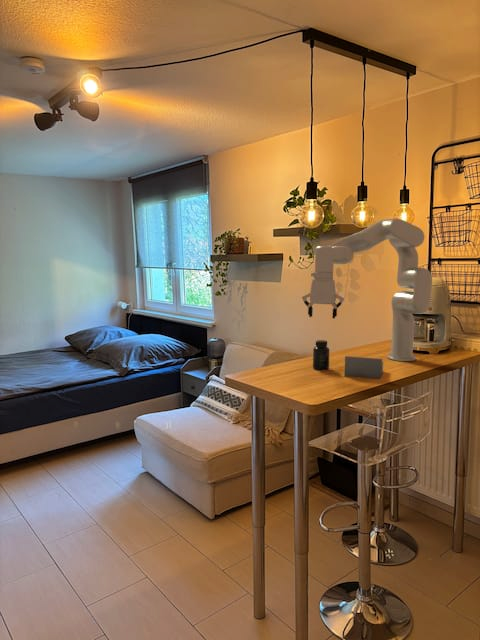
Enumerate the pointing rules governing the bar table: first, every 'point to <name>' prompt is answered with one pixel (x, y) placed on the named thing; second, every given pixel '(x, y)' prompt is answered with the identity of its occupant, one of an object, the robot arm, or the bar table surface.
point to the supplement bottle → (321, 355)
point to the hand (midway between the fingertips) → (322, 317)
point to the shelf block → (363, 367)
